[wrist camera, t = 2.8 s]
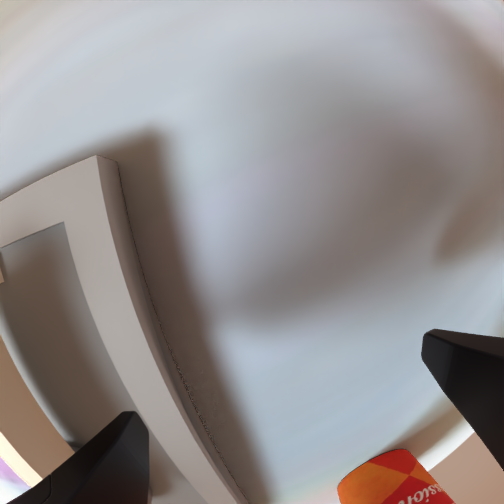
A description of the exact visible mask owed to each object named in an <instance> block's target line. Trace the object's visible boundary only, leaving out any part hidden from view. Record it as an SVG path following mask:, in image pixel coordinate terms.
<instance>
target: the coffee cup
mask: <svg viewBox="0 0 504 504" xmlns="http://www.w3.org/2000/svg"><path fill="white" fill-rule="evenodd" d="M337 491H338V495H339V499H340V502H341V504H455V503H454V501H453V500H452V499H451V498H450V497H449V496H448V495H447V493H446V492H445V491H444V490H443V489H442V488H441V487H440V485H439V484H438V483H437V482H436V481H435V480H434V479H433V478H432V476H431V475H430V474H429V473H428V472H427V471H426V470H425V468H424V467H423V466H422V465H421V464H420V463H419V462H418V461H417V460H416V459H415V457H414V456H413V455H412V454H411V453H410V452H409V451H407V450H406V449H397V450H392V451H389V452H386V453H384V454H382V455H379V456H377V457H375V458H373V459H371V460H369V461H368V462H366V463H364V464H362V465H361V466H359V467H358V468H356V469H355V470H353V471H352V472H351V473H349V474H348V475H347V476H346V477H345V478H344V479H343V480H342V481H341V482H340V483H339V485H338V487H337Z"/></svg>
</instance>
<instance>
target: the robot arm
mask: <svg viewBox="0 0 504 504" xmlns="http://www.w3.org/2000/svg"><path fill="white" fill-rule="evenodd" d="M421 356H422V360H423V362H424V363H425V365H426V366H427V368H428V369H429V371H430V372H431V374H432V375H433V377H434V378H435V380H436V381H437V383H438V384H439V386H440V387H441V389H442V390H443V392H444V393H445V394H446V395H447V397H448V398H449V399H450V400H451V402H452V403H453V404H454V405H455V407H456V408H457V409H458V410H459V412H460V413H461V414H462V415H463V417H464V418H465V419H466V420H467V422H468V423H469V424H470V426H471V427H472V428H473V429H474V431H475V432H476V433H477V435H478V436H479V437H480V439H481V440H482V441H483V443H484V444H485V445H486V447H487V448H488V449H489V451H490V452H491V454H492V455H493V456H494V458H495V459H496V461H497V462H498V463H499V465H500V466H501V468H502V469H503V471H504V338H501V337H492V336H484V335H476V334H468V333H461V332H454V331H447V330H440V329H432V330H430V331H428V332H426V333H425V334H424V336H423V343H422V352H421ZM149 479H150V461H149V431H148V429H147V427H146V425H145V424H144V422H143V421H142V419H141V417H140V416H139V414H138V413H137V412H136V411H123V412H121V413H120V414H119V415H118V416H117V417H116V418H115V419H113V420H112V421H111V422H110V423H109V424H108V425H107V426H106V427H104V428H103V429H102V430H101V431H100V432H99V433H98V434H96V435H95V436H94V437H93V438H92V439H91V440H89V441H88V442H87V443H86V444H85V445H84V446H82V447H81V448H80V449H79V450H78V451H77V452H75V453H74V454H73V455H72V456H71V457H69V458H68V459H67V460H66V461H65V462H64V463H62V464H61V465H60V466H59V467H57V468H56V469H55V470H54V471H53V472H51V474H49V475H48V476H46V477H45V478H44V479H43V480H41V481H40V482H39V483H38V484H36V485H35V486H34V487H32V488H31V489H29V490H28V491H26V492H25V493H23V494H22V495H20V496H18V497H17V498H15V499H13V500H12V501H10V502H8V503H7V504H148V491H149Z"/></svg>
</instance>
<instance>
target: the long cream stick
mask: <svg viewBox="0 0 504 504" xmlns="http://www.w3.org/2000/svg"><path fill="white" fill-rule="evenodd" d="M79 449H80V448H78V447H73V446H69V445H68V444H67V442H66V441H65V440H64V439H63V437H62V436H61V435H60V434H59V432H58V431H57V430H56V428H55V427H54V426H53V424H52V423H51V422H50V420H49V419H48V418H47V416H46V415H45V413H44V412H43V410H42V409H41V407H40V406H39V404H38V403H37V401H36V400H35V398H34V397H33V395H32V393H31V392H30V390H29V389H28V387H27V385H26V384H25V382H24V380H23V378H22V377H21V375H20V373H19V371H18V369H17V367H16V366H15V364H14V362H13V360H12V358H11V356H10V354H9V352H8V350H7V348H6V345H5V343H4V341H3V339H2V337H1V334H0V457H1V458H2V459H3V460H4V461H5V462H6V463H7V464H8V466H9V467H10V468H11V469H12V470H13V471H14V472H15V473H16V474H17V475H18V476H19V477H20V478H21V479H22V480H23V481H24V482H25V483H26V484H28V485H29V486H30V487H31V488H32V487H34V486H35V485H36V484H38V483H39V482H40V481H41V480H43V479H44V478H45V477H46V476H48V475H49V474H51V472H53V471H54V470H55V469H56V468H57V467H59V466H60V465H61V464H62V463H64V462H65V461H66V460H67V459H68V458H69V457H71V456H72V455H73V454H74V453H75V452H77V451H78V450H79ZM152 496H153V492H152V489H151V488H150V486H149V491H148V504H152Z"/></svg>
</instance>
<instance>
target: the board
mask: <svg viewBox="0 0 504 504" xmlns="http://www.w3.org/2000/svg"><path fill="white" fill-rule="evenodd" d="M0 334H1V337H2V339H3V341H4V343H5V345H6V348H7V350H8V352H9V354H10V356H11V358H12V360H13V362H14V364H15V366H16V367H17V369H18V371H19V373H20V375H21V377H22V378H23V380H24V382H25V384H26V385H27V387H28V389H29V390H30V392H31V393H32V395H33V397H34V398H35V400H36V401H37V403H38V404H39V406H40V407H41V409H42V410H43V412H44V413H45V415H46V416H47V418H48V419H49V420H50V422H51V423H52V424H53V426H54V427H55V428H56V430H57V431H58V432H59V434H60V435H61V436H62V437H63V439H64V440H65V441H66V442H67V444H68V445H69V446H73V447H78V448H81V447H82V446H84V445H85V444H86V443H87V442H88V441H89V440H91V439H92V438H93V437H94V436H95V435H96V434H98V433H99V432H100V431H101V430H102V429H103V428H104V427H106V426H107V425H108V424H109V423H110V422H111V421H112V420H113V419H115V418H116V417H117V416H118V415H119V414H120V413H121V412H123V411H136V412H137V413H138V414H139V416H140V417H141V419H142V421H143V422H144V424H145V425H146V427H147V429H148V431H149V461H150V479H149V486H150V488H151V489H152V492H153V496H152V504H249V502H248V501H247V499H246V498H245V496H244V495H243V493H242V492H241V490H240V489H239V487H238V486H237V484H236V482H235V481H234V479H233V478H232V476H231V474H230V473H229V471H228V469H227V468H226V466H225V464H224V463H223V461H222V459H221V457H220V456H219V454H218V452H217V450H216V448H215V447H214V445H213V443H212V441H211V439H210V437H209V435H208V433H207V432H206V430H205V428H204V426H203V424H202V422H201V420H200V418H199V416H198V414H197V412H196V410H195V408H194V405H193V403H192V401H191V399H190V397H189V395H188V393H187V390H186V388H185V386H184V384H183V381H182V379H181V377H180V374H179V372H178V370H177V367H176V365H175V363H174V360H173V358H172V355H171V353H170V350H169V348H168V345H167V342H166V340H165V337H164V335H163V332H162V329H161V326H160V324H159V321H158V318H157V315H156V312H155V309H154V307H153V304H152V301H151V298H150V294H149V291H148V288H147V285H146V282H145V279H144V275H143V272H142V268H141V265H140V262H139V258H138V254H137V251H136V247H135V243H134V239H133V236H132V232H131V227H130V223H129V219H128V215H127V210H126V206H125V201H124V196H123V192H122V187H121V181H120V176H119V170H118V165H117V162H116V161H113V160H110V159H107V158H104V157H101V156H98V155H95V156H92V157H90V158H87V159H85V160H82V161H80V162H77V163H75V164H73V165H70V166H68V167H66V168H64V169H61V170H59V171H57V172H55V173H53V174H51V175H49V176H46V177H44V178H42V179H40V180H38V181H36V182H34V183H33V184H31V185H29V186H27V187H25V188H23V189H21V190H19V191H18V192H16V193H14V194H12V195H10V196H9V197H7V198H5V199H4V200H2V201H0Z"/></svg>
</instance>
